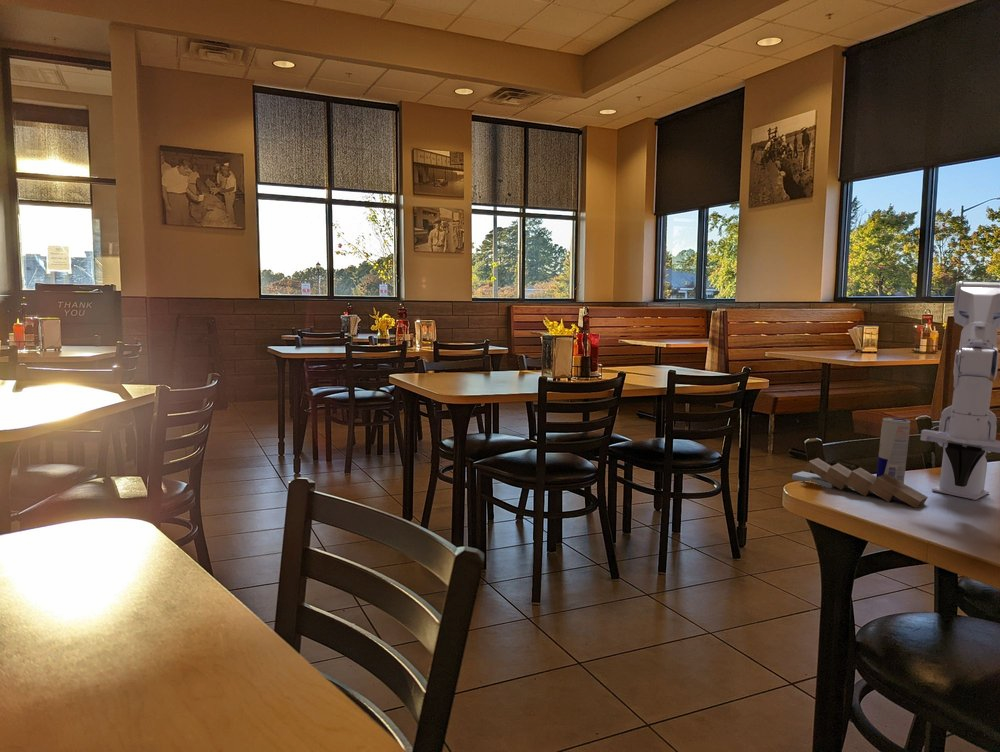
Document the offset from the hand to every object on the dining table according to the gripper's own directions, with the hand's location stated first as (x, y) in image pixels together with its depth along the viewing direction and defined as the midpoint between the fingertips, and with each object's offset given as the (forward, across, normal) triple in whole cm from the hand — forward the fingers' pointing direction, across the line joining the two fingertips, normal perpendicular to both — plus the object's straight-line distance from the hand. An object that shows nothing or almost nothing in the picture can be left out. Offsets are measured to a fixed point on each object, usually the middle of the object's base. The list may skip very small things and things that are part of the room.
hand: (960, 485), depth 128 cm
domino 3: (+5, -15, 0) cm, 16 cm away
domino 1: (+5, -22, 0) cm, 23 cm away
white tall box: (+6, -15, +8) cm, 18 cm away
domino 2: (+5, -20, 0) cm, 20 cm away
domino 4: (+5, -11, 0) cm, 12 cm away
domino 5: (+5, -6, 0) cm, 8 cm away
